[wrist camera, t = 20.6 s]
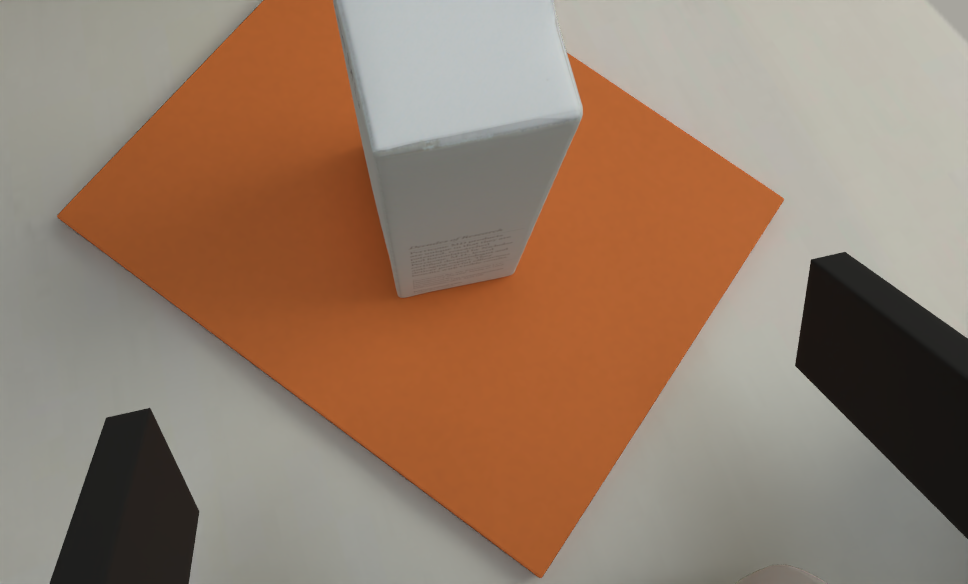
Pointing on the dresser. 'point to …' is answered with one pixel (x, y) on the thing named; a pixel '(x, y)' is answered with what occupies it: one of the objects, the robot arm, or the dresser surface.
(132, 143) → the orange rectangular board
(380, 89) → the cosmetic box
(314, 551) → the dresser surface
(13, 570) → the dresser surface
